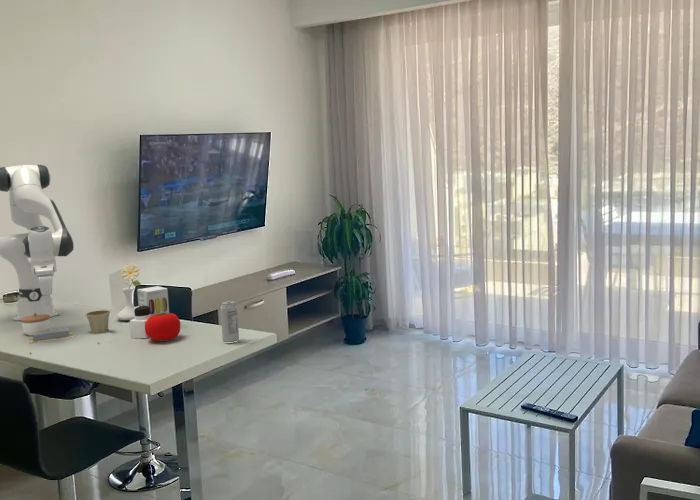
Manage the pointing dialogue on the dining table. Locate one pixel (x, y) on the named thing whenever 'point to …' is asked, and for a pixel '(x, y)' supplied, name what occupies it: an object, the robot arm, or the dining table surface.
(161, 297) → the supplement box
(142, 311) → the medicine bottle
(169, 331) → the tomato
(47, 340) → the wooden board
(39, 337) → the slate tile
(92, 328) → the flower pot
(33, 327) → the lidded jar
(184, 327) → the dining table surface
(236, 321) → the energy drink can
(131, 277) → the flower in vase
